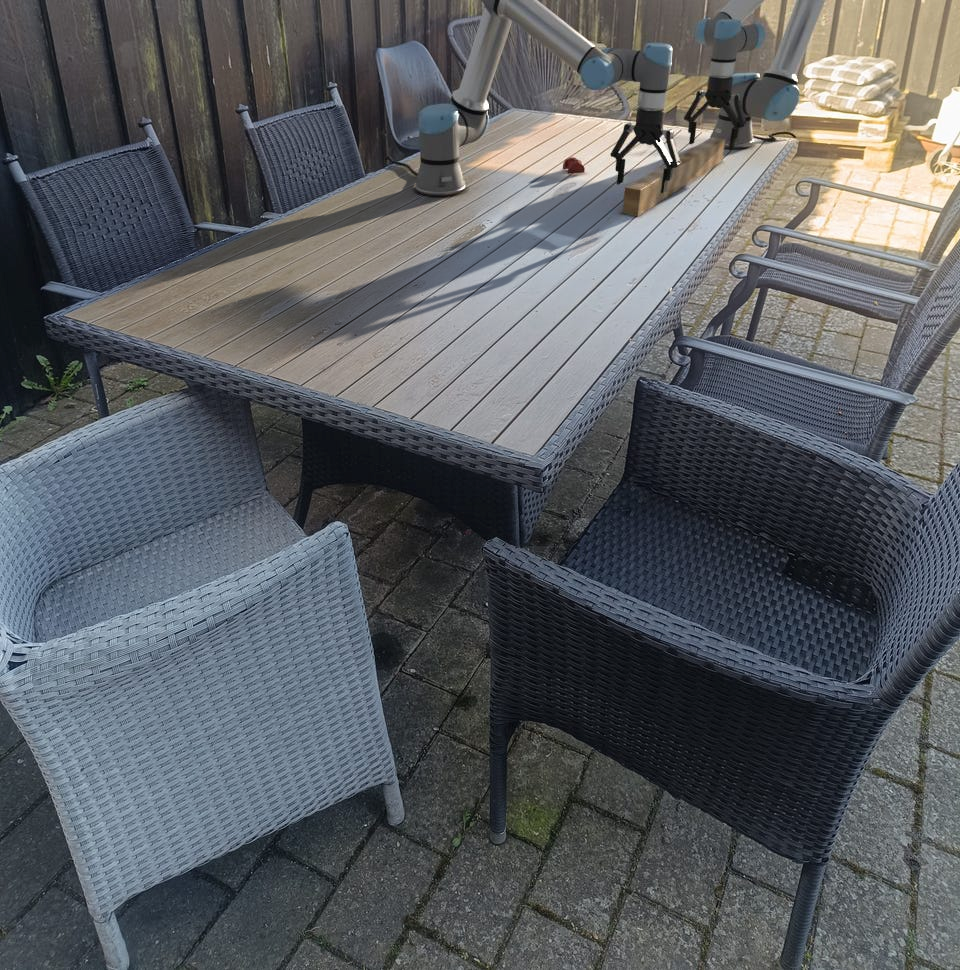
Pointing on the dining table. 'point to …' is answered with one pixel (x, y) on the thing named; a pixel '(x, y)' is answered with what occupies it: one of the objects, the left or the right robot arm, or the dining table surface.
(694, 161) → the bar
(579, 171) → the dark red lumpy piece
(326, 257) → the dining table surface
